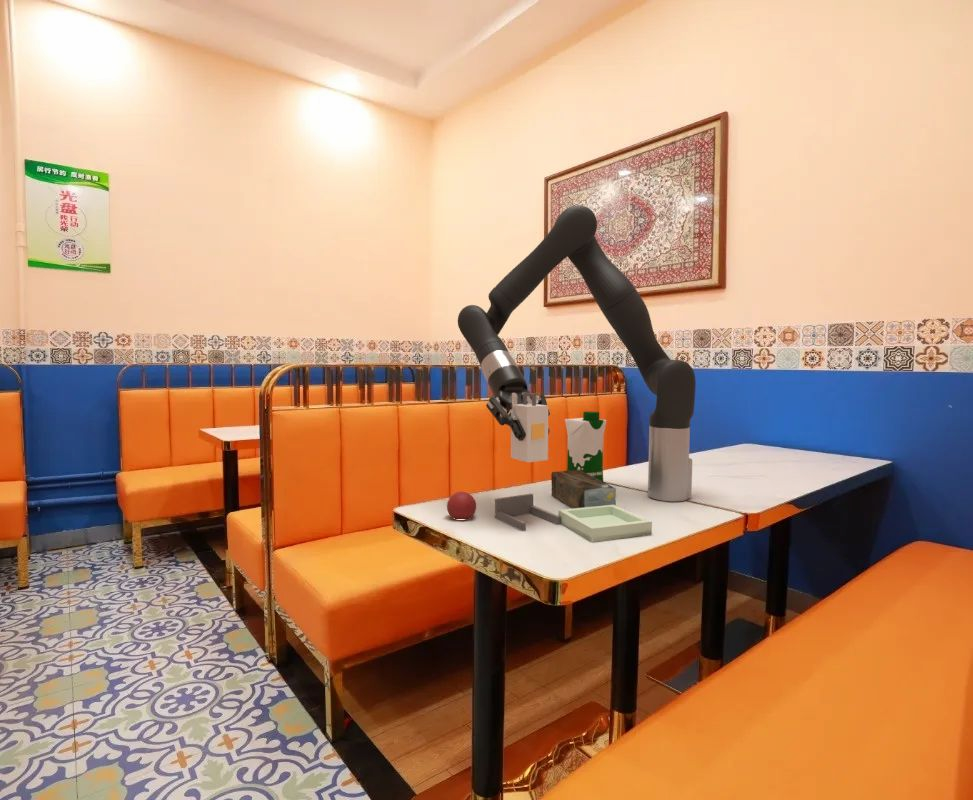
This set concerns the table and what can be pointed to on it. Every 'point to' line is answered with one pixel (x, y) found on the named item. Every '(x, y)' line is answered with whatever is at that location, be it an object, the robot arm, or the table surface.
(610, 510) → the tray
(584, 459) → the milk carton
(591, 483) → the beverage carton
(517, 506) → the bay
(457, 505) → the fruit
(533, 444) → the white tall block
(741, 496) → the table surface
